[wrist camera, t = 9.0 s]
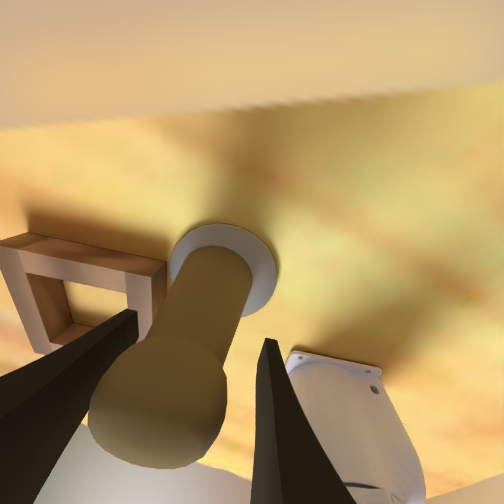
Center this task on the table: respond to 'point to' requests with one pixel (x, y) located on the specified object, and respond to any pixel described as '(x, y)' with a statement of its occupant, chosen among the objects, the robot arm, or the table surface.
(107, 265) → the walnut holder
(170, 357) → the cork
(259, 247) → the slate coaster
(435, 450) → the table surface
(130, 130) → the table surface
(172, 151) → the table surface
